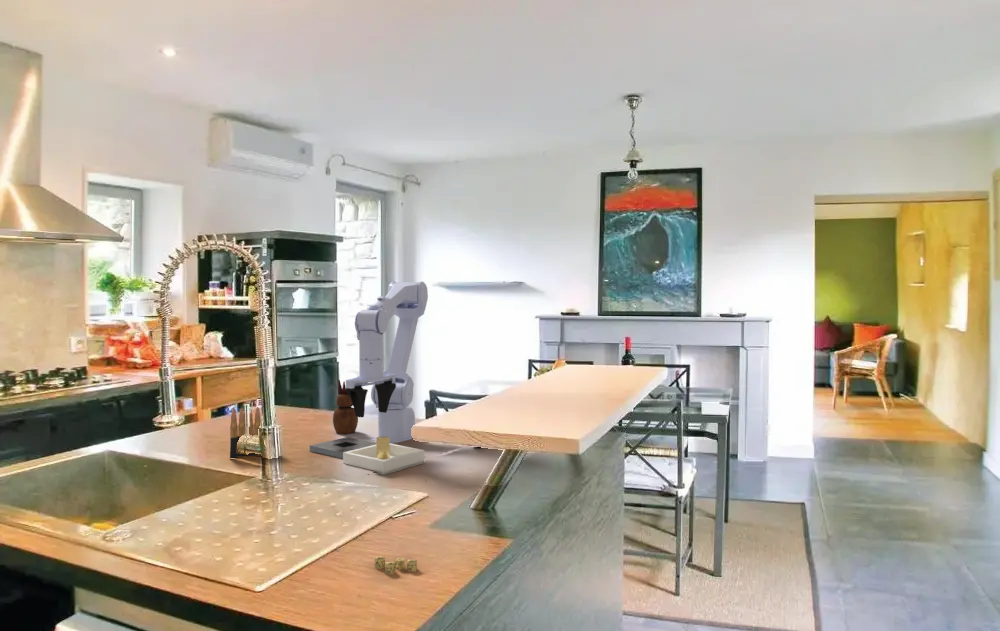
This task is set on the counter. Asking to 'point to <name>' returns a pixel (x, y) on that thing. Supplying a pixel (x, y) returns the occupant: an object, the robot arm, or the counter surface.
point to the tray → (398, 459)
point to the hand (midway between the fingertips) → (371, 414)
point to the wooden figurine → (344, 413)
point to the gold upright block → (383, 447)
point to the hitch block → (339, 446)
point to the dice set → (391, 565)
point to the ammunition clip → (242, 431)
